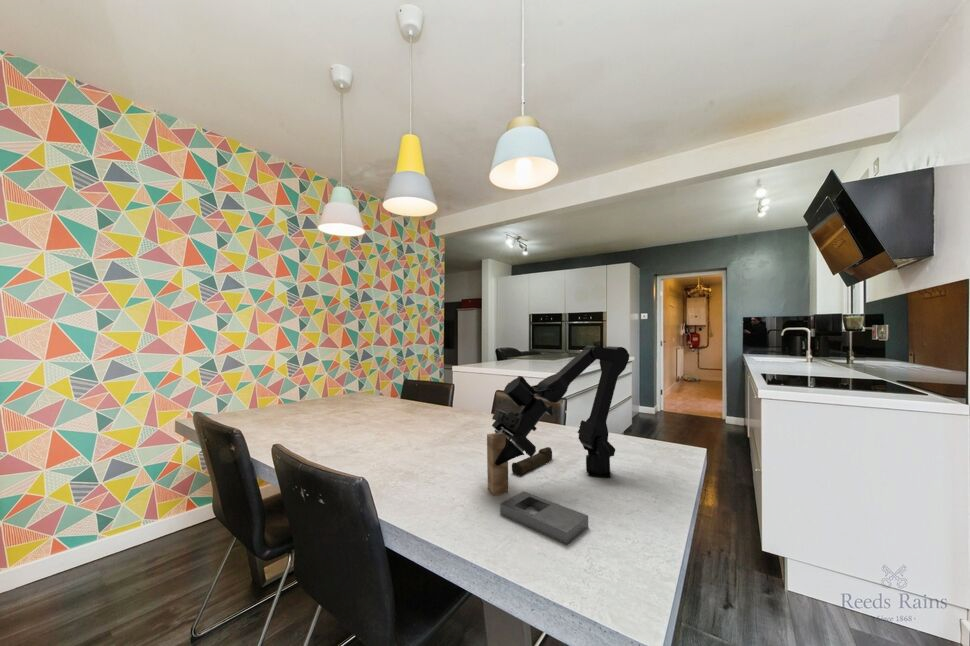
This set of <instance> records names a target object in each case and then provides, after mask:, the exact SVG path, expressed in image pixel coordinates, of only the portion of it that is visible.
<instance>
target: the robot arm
mask: <svg viewBox="0 0 970 646" xmlns="http://www.w3.org/2000/svg"><path fill="white" fill-rule="evenodd" d="M596 360H599V367H600V370H601V373H600V376H599V380H598V384H597V388H596V391H595V396H594V399H593V403H592V407H591V412H590V415H589V417H588V418H587V419H586V420H581V421H580V423H579V429H578V430H577V433H578V440H579V442H580V443H581V445H582V448H583V449H584V450H585V451H587V454H586V455H585V465H586V466H585V468H586V469H585V470H586V472H587V476H588V477H597V478H607V479H608V478H609V479H611V478H612V475H611V457H614V456H615V452H616V447H614V445H612V444H611V442H610V441H609V430H608V424H607V420H608V417H609V412H610V408H611V404H612V400H613V397H614V393H615V389H616V386H617V382H618V379H619V377H620V375H621V374H623V372H624V371H625V369H626V367H627V365H628V363H629V360H630V353H629V351H628V350H627V349H626V348H625V347H622V346H610V345H609V346H605V347H601V346H598V345H586V346H585V347H584V348H583V349H582V350H581V351H580V352H579V353H578V354H577V355H575V356H574V357H573V358H571V360H570V361H569V362H568V363H566V364H565V366H563V367H562V368H560V370H559V371H558V372H556V373H555V374H551V375H549V376H547V377H545V378H544V379H542V380H541V381H540V382H538V383H537V384H535V385H530V384H529V382H528V381H527V380H526V379H525V378H524V377H523V376H522V375H519V376H518V377H517V378H514V379H512V380H511V381H510V382H508V383H507V384H506V386H505V387H504V389H503V393H504V394H505V395H506V397H508V398H509V399H510V401H511V402H513V403H514V404H515V405H516V406H517V407H522V408H521V410H520V411H514V412H513V411H510V410H507V411H505V410H501V409H499V408H495V411H494V412H493V416H492V418H491V419H492V420H494V422H493V423H492V425H491V427H493V428H494V433H503V434H504V435H506V436H507V437H508V439H507V438H506V445H505V447H504V449H503V450H502V452H501V453H500V455H499V456H498V458H497V460H496V461H495V464H496V465H497V466H499V465H501V464H503V463H505V462H507V461H508V462H509V461H510V460H513V459H516V458H517V457H520V456H525V454H526V455H528V457H532V456H533V455H535V454H536V451H537V448H536V445H535V444H533V443H532V442H531V440H530V439H529V438H528V437H527V436H528V435H529V434H530V433H531V432H532V431H534V432H535V431H536V430H537V428H538V427H536V425H537V424H538V422H539V421H541V419H542V418H543V417H544V415H545V414H546V415H549V416H551V417H553V415H554V413H553V406H552V405H550V404H547V403H546V402H549V403H552V404H553V403H554V404H555V403H559V402H560V401H561V400H562V399H563V397H564V396H565V395H566V393H567V391H568V389H569V386H570V385H571V383H573V382H574V381H575V380H576V379H577V378H578V377H579V376H580V375H581V374H582V373H583V372H584V371H585V370H586V369H587V368H589V367H590V366H591V365H592V364H593V363H594V362H595V361H596ZM537 397H539V398H537ZM524 452H525V453H524Z"/></svg>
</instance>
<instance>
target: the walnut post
mask: <svg viewBox="0 0 970 646" xmlns="http://www.w3.org/2000/svg"><path fill="white" fill-rule="evenodd" d="M506 438H507V439H508V437H507V436H506V435H504V434H503V433H495V432H494V433H493V432H492V433H487V434H486V451H487V452H486V456H487V457H486V458H487V459H486V460H487V461H486V462H487V466H486V467H487V469H486V470H487V490H488V491H489V492H490V493H491V495H492V496H498V495H504V493H505V494H509V461H507V462H505V463H503V464H501V465H499V466H497V465H496V464H495V461H496V460H497V458H498V456H499V455H500V453H501V452H502V450H503V449H504V447H505V445H506Z"/></svg>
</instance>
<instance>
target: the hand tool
mask: <svg viewBox="0 0 970 646" xmlns="http://www.w3.org/2000/svg"><path fill="white" fill-rule="evenodd" d="M550 460H551V461H552V460H553V450H552V448H551V447H548V446H547V447H544V448H543V447H542V448H540V449H539V450H538V453H534V455H533V456H532V457H530V456H528V457H526V458H524V459H521V460H519V461H517V462H512V464H511V472H512V473H514V474H513V475H515V474H516V476H518V475H519V477H520V476H522V475H525V473H526V472H528V471H529V470H532V469H535V468H536V467H539V466H540V465H547V464H548V463H550V462H551V461H550ZM549 461H550V462H549ZM546 463H547V464H546Z"/></svg>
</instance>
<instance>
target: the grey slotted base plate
mask: <svg viewBox="0 0 970 646" xmlns="http://www.w3.org/2000/svg"><path fill="white" fill-rule="evenodd" d="M528 508H531V509H534V510H535V511H539V512H537V513H536V514H534V513H532V512H530V511H527V510H526V509H528ZM499 511H500V512H499V515H501V516H503V517H506V518H507V519H510V520H511V521H514V522H516V523H518V524H521V525H522V526H525V527H527V528H529V529H531V530H532V531H533V530H534V531H535V532H538V533H540V534H541V535H545V536H546V537H549V538H550V539H553V540H555V541H557V542H559V543H562V544H563V545H566V546H568V545H569V544H571V543H572V542H573V541H574V540H575V539H576V538H577V537H579V536H580V535H581V534H582V533H584V532H585V531H586V530H587V529H588V528H589V515H587V514H585V513H583V512H580V511H577V510H575V509H572V508H569V507H567V506H564V505H561V504H559V503H555V502H553V501H550V500H548V499H545V498H543V497H540V496H537V495H535V494H531V493H529V492H526V491H521V492H520V493H518V494H516V495H514V496H511V497H510V498H508V499H506V500H505V501H503V502H501V503H500V504H499Z"/></svg>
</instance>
